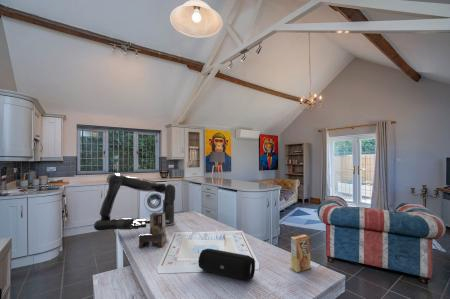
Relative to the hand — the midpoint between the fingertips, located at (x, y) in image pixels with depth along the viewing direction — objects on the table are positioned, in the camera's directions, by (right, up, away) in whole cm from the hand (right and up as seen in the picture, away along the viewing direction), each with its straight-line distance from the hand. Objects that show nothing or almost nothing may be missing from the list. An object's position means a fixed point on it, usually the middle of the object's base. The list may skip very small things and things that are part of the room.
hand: (148, 223), depth 150 cm
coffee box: (+7, -9, 0) cm, 11 cm away
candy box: (+91, -6, -45) cm, 102 cm away
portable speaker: (+54, -7, -50) cm, 74 cm away
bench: (+8, -8, -13) cm, 18 cm away
